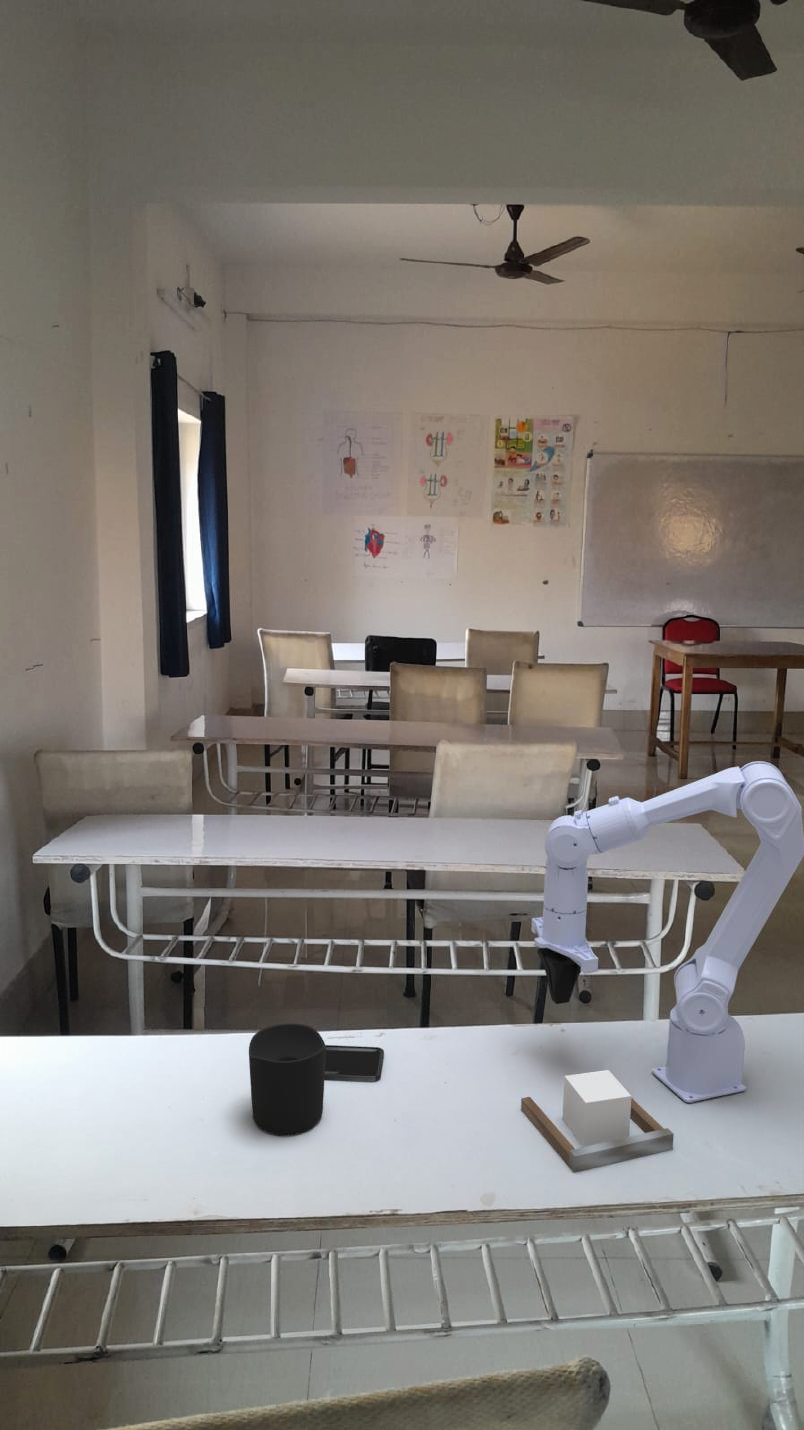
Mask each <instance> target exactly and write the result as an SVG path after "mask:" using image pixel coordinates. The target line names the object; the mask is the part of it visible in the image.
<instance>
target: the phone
mask: <svg viewBox="0 0 804 1430" xmlns="http://www.w3.org/2000/svg"><path fill="white" fill-rule="evenodd" d="M325 1045H326V1056H325V1078H324V1081H333V1082H334V1081H335V1082H351V1083H352V1082H354V1083H377V1082H379V1081H380V1080H381V1079H382V1072H383V1066H384V1065H383V1064H384V1058H385V1051H384V1049H383V1048H381V1047H379V1046H377V1047H375V1046H356V1045H353V1046H352V1045H335V1044H334V1045H333V1044H325Z"/></svg>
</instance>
